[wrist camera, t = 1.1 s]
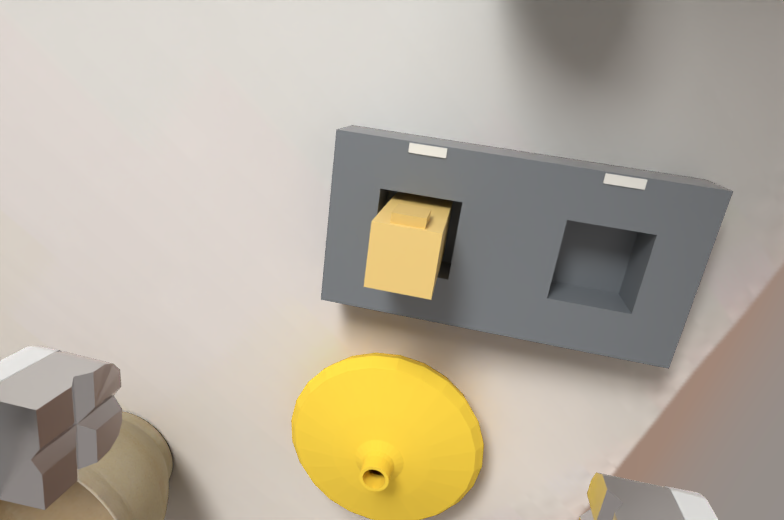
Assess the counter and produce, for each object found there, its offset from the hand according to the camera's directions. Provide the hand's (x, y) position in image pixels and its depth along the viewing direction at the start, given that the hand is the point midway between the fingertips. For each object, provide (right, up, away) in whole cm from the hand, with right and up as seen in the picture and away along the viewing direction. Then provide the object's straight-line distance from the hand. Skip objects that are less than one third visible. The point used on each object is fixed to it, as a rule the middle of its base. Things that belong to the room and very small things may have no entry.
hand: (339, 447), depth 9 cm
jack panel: (+9, +5, +29) cm, 30 cm away
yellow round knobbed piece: (+1, -11, +36) cm, 37 cm away
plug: (+3, +6, +29) cm, 30 cm away
